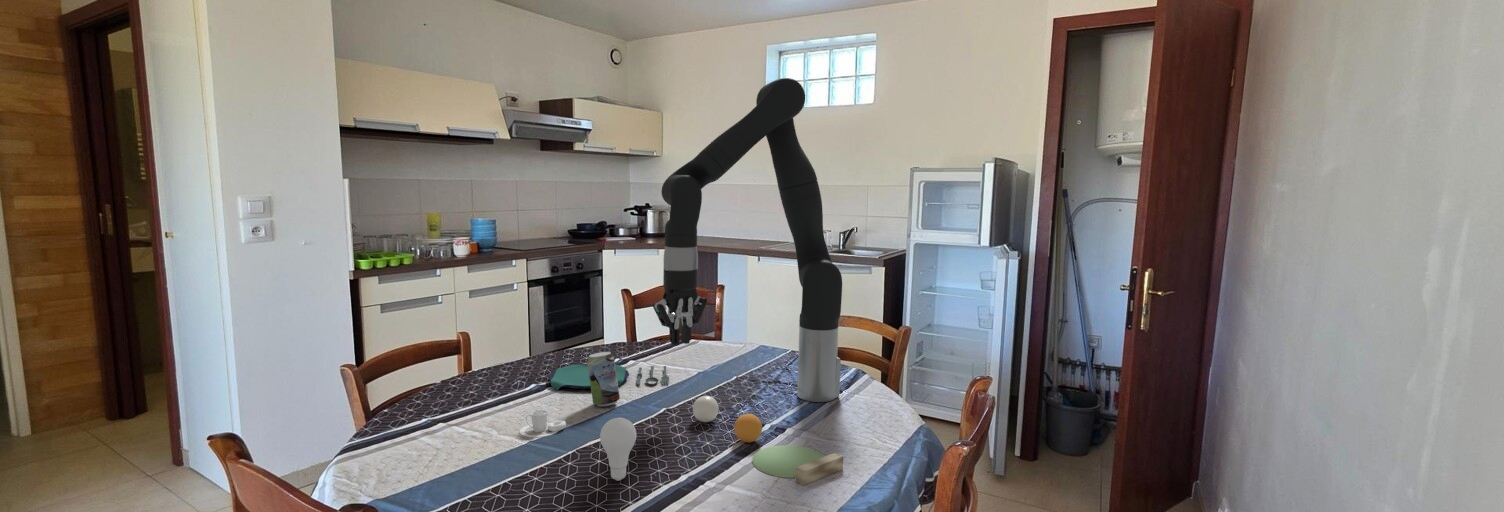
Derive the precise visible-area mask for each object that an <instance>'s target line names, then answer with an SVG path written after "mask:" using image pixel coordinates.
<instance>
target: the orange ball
mask: <svg viewBox="0 0 1504 512" xmlns="http://www.w3.org/2000/svg"><path fill="white" fill-rule="evenodd" d="M762 425H763V424H762V422H761V420H760V419H759V417H758V416H756V415H755V414H752V413H744V414H742V415H740V416H739V417H738V418H737V419H736V421H735V423H734V428H733V429H734V434H735V436H736V438H737V439H739V440H740V441H741V442H743V443H752V442H755V441H757V440H758V439H759V438H760V436H761V435H762V432H763V426H762Z"/></svg>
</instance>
